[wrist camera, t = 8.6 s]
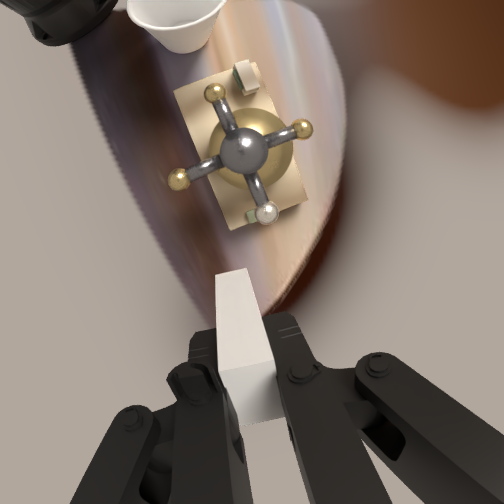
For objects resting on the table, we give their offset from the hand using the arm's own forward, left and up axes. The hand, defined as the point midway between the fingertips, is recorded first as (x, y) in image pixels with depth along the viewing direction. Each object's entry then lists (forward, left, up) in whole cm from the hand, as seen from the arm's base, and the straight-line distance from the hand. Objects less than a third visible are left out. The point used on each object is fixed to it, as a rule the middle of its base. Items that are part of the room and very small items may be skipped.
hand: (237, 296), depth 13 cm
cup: (-24, +4, -23) cm, 33 cm away
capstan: (-6, +4, -20) cm, 21 cm away
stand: (-7, +5, -22) cm, 24 cm away
